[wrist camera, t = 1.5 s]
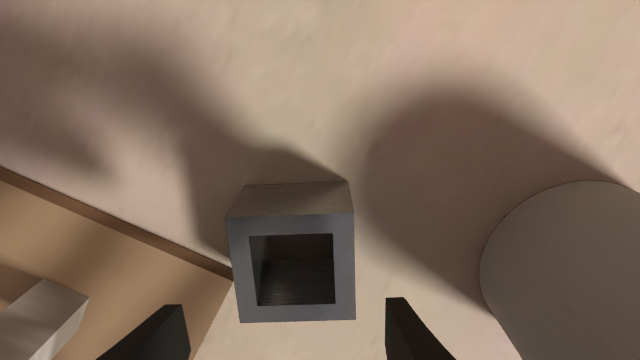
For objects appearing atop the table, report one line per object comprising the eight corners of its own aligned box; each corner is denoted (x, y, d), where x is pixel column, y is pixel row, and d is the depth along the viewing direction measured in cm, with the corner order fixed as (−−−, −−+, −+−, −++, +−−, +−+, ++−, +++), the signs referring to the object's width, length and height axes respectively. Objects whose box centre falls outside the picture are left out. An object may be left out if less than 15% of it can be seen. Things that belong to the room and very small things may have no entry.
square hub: (348, 181, 19) (353, 212, 15) (350, 271, 20) (355, 319, 17) (245, 185, 19) (224, 217, 15) (255, 274, 21) (240, 322, 17)
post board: (237, 271, 21) (203, 352, 15) (167, 408, 24) (118, 516, 18) (-51, 144, 18) (-218, 183, 13) (-82, 315, 22) (-223, 406, 16)
